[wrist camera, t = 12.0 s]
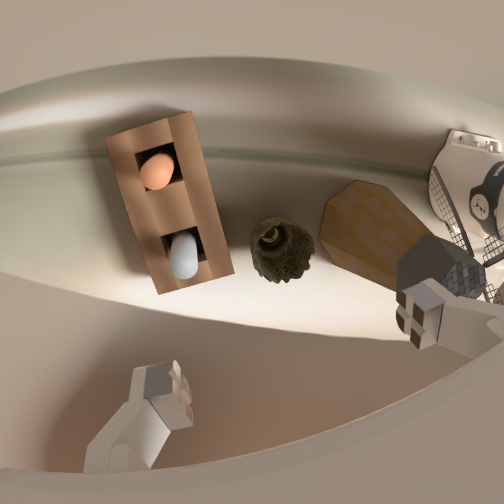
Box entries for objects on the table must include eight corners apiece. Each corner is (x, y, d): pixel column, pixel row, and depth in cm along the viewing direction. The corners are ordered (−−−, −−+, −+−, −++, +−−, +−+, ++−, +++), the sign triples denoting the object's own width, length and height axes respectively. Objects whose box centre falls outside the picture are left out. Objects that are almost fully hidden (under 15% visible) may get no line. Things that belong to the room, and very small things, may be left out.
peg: (172, 147, 37) (166, 154, 28) (178, 170, 38) (174, 184, 29) (149, 154, 37) (136, 164, 28) (155, 177, 38) (145, 193, 29)
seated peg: (191, 220, 41) (193, 249, 32) (198, 241, 43) (201, 274, 34) (170, 227, 41) (165, 257, 32) (176, 247, 42) (174, 282, 33)
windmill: (398, 273, 52) (520, 381, 24) (326, 299, 50) (431, 445, 23) (391, 149, 43) (571, 204, 15) (305, 166, 41) (483, 252, 14)
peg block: (191, 112, 36) (191, 110, 31) (229, 257, 44) (234, 273, 40) (114, 136, 35) (104, 138, 31) (160, 276, 43) (158, 294, 39)
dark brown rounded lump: (251, 200, 42) (264, 217, 35) (301, 213, 44) (323, 232, 37) (235, 251, 44) (245, 278, 37) (284, 262, 46) (302, 288, 39)
